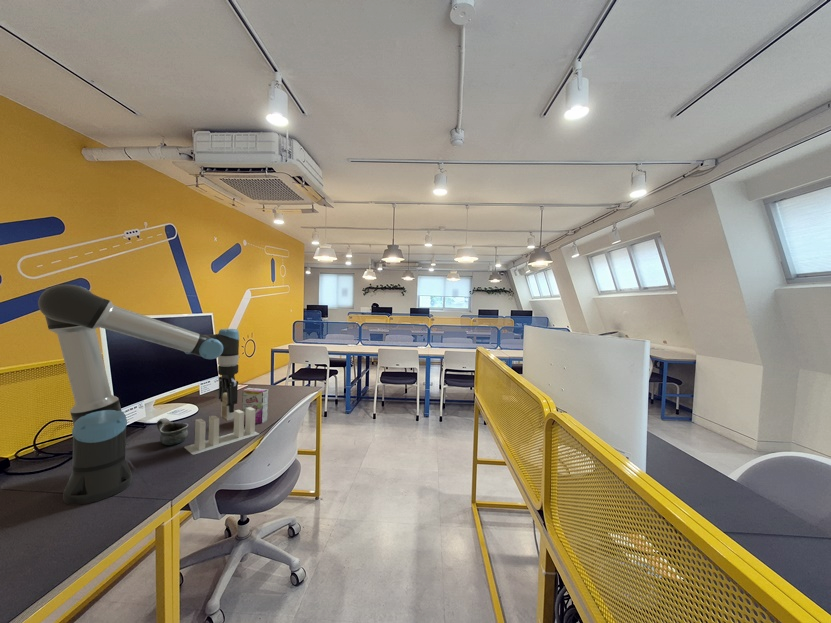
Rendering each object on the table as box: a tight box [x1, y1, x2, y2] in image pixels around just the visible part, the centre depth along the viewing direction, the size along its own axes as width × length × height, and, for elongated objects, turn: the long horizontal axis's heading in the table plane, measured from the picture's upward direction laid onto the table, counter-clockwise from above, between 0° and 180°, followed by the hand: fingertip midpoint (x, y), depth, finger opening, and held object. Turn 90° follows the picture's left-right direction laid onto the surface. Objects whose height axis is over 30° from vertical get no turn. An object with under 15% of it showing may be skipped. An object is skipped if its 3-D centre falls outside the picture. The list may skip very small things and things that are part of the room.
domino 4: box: [244, 407, 256, 434], centre depth 142 cm, size 2×5×11 cm, turn 54°
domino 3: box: [233, 409, 245, 438], centre depth 138 cm, size 2×5×11 cm, turn 54°
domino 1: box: [194, 418, 207, 450], centre depth 126 cm, size 2×5×11 cm, turn 54°
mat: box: [183, 428, 260, 456], centre depth 133 cm, size 26×10×1 cm, turn 144°
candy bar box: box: [241, 387, 269, 424], centre depth 155 cm, size 11×5×16 cm, turn 84°
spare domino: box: [221, 392, 228, 422], centre depth 133 cm, size 2×5×11 cm, turn 54°
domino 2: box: [207, 414, 220, 446], centre depth 130 cm, size 2×5×11 cm, turn 54°
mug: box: [156, 417, 189, 446], centre depth 129 cm, size 10×12×10 cm
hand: (227, 417), depth 134 cm, fingers closed on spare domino, 5 cm apart
